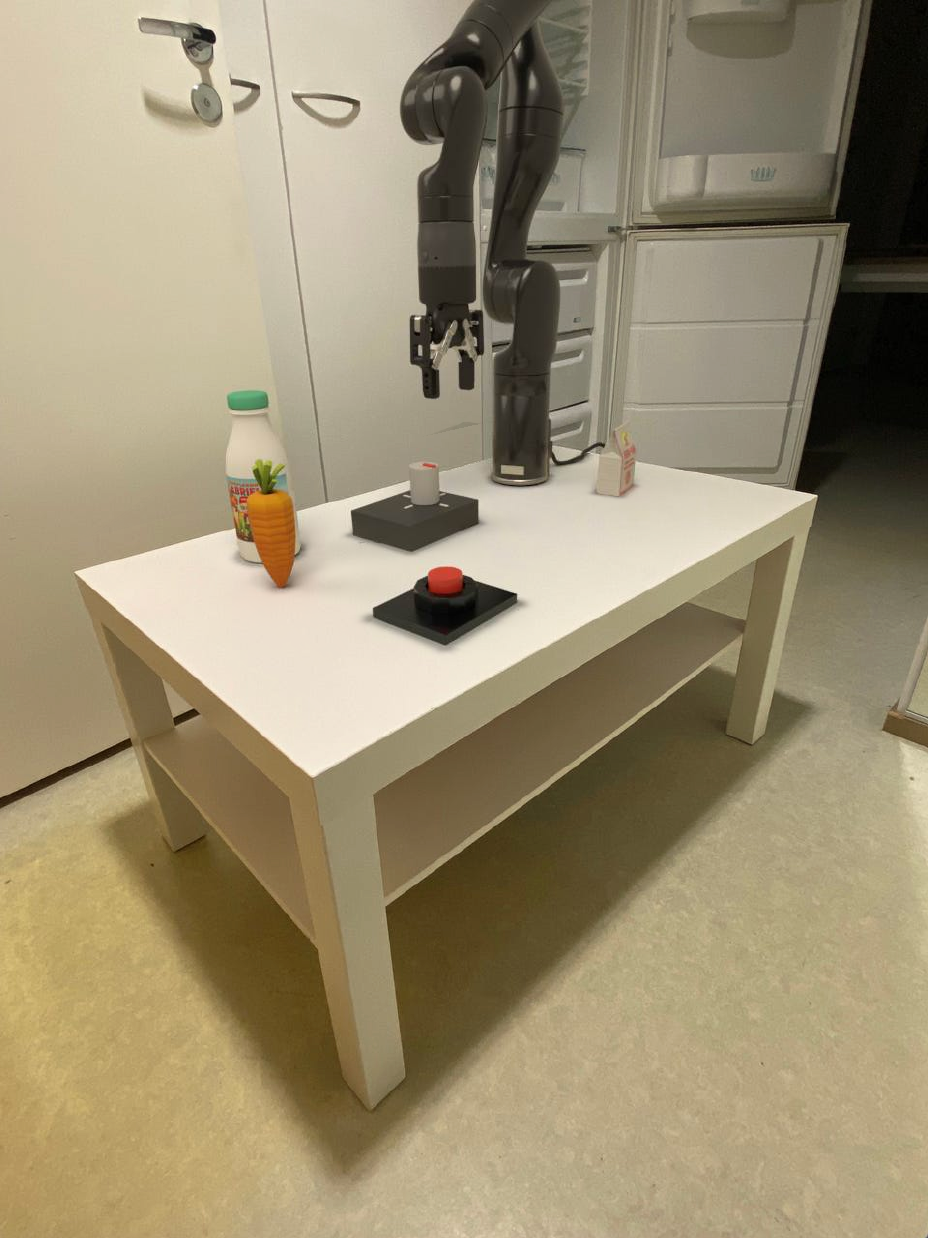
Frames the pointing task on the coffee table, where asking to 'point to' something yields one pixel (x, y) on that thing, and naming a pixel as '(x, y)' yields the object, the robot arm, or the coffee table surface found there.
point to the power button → (445, 580)
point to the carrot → (272, 523)
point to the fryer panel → (414, 520)
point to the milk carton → (617, 462)
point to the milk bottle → (253, 462)
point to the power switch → (444, 609)
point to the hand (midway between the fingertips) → (449, 393)
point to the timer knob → (424, 483)
